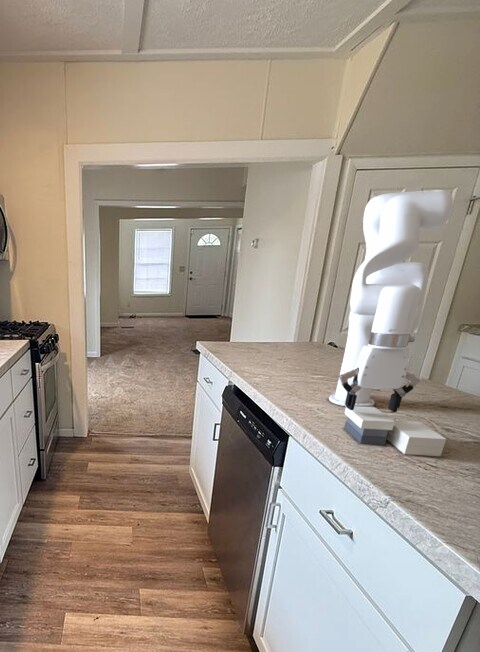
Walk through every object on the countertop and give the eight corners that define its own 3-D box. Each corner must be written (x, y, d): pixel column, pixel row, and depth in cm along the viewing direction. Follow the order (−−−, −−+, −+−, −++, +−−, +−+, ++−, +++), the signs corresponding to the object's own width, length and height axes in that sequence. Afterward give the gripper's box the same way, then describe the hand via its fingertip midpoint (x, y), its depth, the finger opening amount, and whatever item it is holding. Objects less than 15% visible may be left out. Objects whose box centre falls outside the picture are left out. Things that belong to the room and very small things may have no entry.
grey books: (344, 427, 110) (347, 413, 108) (366, 428, 109) (369, 414, 107) (360, 443, 100) (363, 428, 98) (384, 444, 99) (388, 429, 97)
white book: (344, 413, 108) (346, 405, 107) (372, 415, 107) (374, 407, 106) (360, 428, 98) (362, 420, 97) (392, 430, 97) (394, 421, 96)
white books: (382, 436, 104) (387, 420, 102) (415, 438, 102) (420, 421, 101) (404, 454, 94) (409, 436, 92) (440, 456, 92) (446, 439, 91)
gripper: (420, 339, 97) (401, 407, 103) (342, 337, 100) (328, 403, 106) (438, 344, 90) (417, 416, 96) (354, 342, 93) (338, 412, 99)
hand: (370, 409), depth 101 cm, fingers open, 9 cm apart
